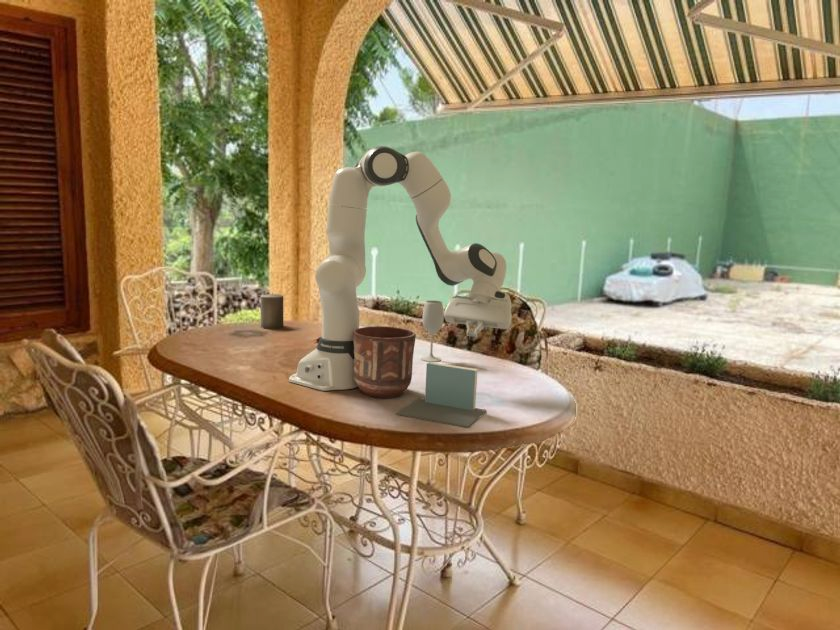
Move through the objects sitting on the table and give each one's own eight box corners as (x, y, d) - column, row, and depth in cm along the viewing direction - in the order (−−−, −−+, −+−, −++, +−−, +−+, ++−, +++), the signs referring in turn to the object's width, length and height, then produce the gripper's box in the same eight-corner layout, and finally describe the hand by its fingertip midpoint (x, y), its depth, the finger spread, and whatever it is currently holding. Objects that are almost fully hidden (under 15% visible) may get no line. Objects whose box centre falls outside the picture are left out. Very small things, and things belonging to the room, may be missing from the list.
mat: (395, 414, 163) (395, 412, 162) (418, 399, 176) (418, 398, 176) (468, 427, 155) (468, 426, 155) (486, 411, 169) (486, 409, 168)
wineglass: (422, 362, 219) (425, 303, 216) (418, 356, 227) (421, 299, 223) (443, 361, 221) (446, 303, 217) (438, 356, 228) (441, 300, 225)
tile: (424, 402, 173) (426, 363, 171) (427, 400, 175) (429, 362, 173) (472, 410, 167) (475, 370, 166) (475, 408, 169) (477, 369, 167)
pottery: (380, 380, 194) (382, 323, 191) (424, 392, 183) (427, 332, 180) (339, 391, 180) (340, 330, 177) (383, 405, 169) (386, 341, 166)
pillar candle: (286, 328, 268) (286, 293, 265) (264, 329, 263) (264, 294, 260) (278, 324, 276) (279, 290, 273) (257, 325, 271) (257, 291, 268)
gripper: (449, 289, 191) (435, 325, 184) (514, 295, 183) (502, 333, 176) (453, 301, 196) (440, 337, 188) (516, 308, 188) (506, 345, 181)
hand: (471, 335), depth 182 cm, fingers closed
